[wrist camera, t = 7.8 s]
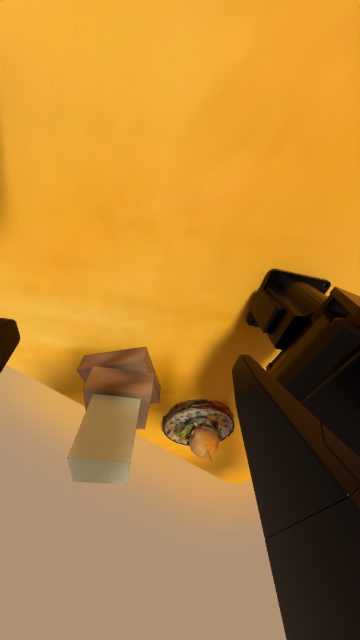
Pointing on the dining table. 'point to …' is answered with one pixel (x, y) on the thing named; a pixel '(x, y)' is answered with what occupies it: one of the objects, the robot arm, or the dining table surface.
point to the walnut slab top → (121, 387)
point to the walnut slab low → (122, 365)
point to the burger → (199, 425)
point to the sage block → (105, 440)
